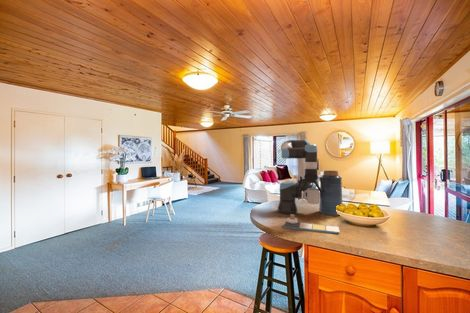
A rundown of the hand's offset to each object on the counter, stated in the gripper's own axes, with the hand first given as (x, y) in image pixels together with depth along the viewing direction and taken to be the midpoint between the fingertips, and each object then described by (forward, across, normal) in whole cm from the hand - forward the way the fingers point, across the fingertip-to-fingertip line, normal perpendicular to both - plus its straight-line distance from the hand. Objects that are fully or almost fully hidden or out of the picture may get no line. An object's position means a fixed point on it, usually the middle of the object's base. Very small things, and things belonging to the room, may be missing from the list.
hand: (310, 201), depth 145 cm
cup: (0, 0, 0) cm, 0 cm away
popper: (+10, -10, -13) cm, 19 cm away
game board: (+13, 0, -13) cm, 18 cm away
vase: (+14, +13, +26) cm, 32 cm away
